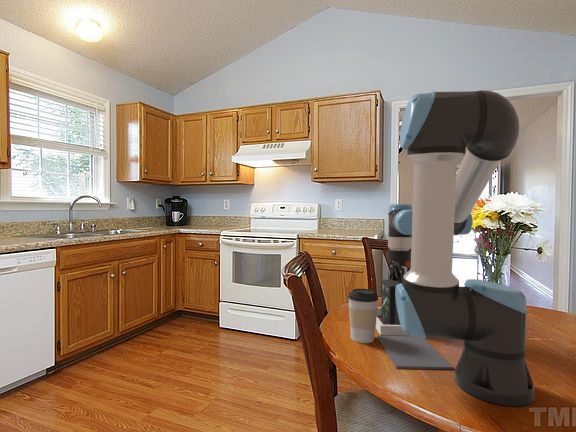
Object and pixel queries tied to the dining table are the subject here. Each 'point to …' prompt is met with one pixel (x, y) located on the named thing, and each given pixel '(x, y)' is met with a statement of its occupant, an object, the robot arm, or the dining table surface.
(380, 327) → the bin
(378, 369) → the dining table surface
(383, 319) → the tampon box
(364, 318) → the coffee cup
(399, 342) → the thin grey tile
